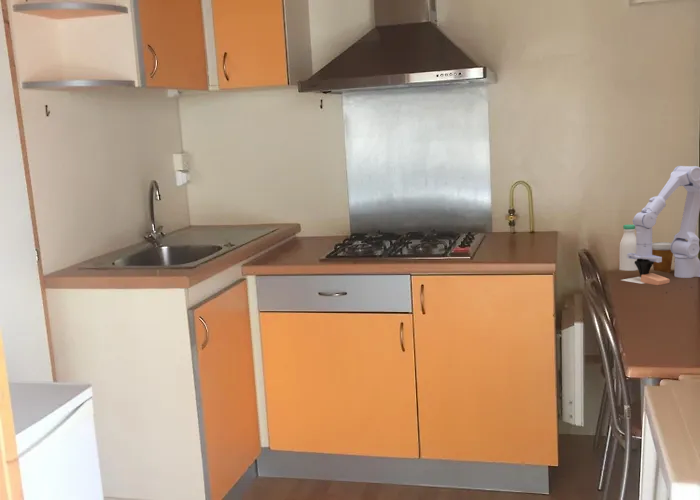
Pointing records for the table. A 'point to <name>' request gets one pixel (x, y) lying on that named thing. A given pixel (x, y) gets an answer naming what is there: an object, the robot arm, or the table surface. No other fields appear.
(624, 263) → the milk bottle
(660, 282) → the terracotta tile
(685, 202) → the robot arm
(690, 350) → the table surface
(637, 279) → the white riser
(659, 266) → the disposable coffee cup
